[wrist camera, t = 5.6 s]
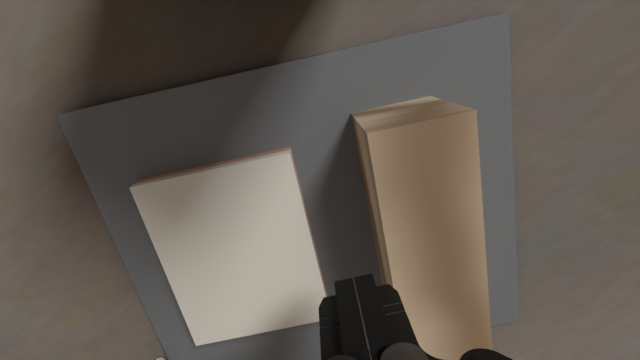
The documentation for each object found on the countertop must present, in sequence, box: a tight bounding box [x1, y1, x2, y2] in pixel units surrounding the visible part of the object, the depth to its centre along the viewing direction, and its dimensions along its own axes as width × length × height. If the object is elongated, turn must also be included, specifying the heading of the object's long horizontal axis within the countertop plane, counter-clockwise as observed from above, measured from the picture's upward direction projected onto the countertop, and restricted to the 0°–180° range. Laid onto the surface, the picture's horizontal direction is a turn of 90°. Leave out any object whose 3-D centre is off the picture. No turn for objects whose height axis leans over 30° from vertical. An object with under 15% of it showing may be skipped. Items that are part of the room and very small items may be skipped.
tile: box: [129, 147, 328, 346], centre depth 19 cm, size 4×10×8 cm
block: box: [351, 96, 492, 360], centre depth 17 cm, size 4×12×5 cm, turn 12°
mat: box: [56, 12, 519, 360], centre depth 20 cm, size 22×18×1 cm
